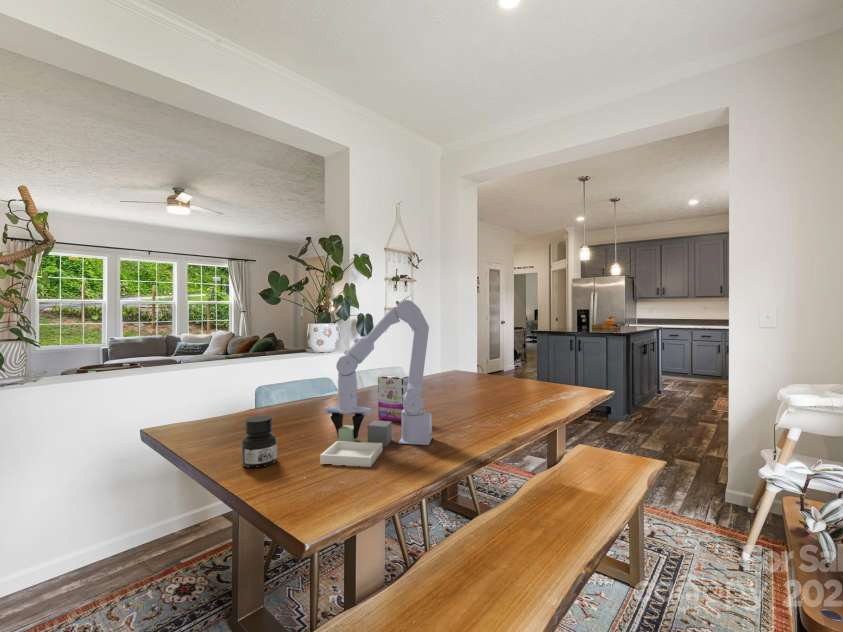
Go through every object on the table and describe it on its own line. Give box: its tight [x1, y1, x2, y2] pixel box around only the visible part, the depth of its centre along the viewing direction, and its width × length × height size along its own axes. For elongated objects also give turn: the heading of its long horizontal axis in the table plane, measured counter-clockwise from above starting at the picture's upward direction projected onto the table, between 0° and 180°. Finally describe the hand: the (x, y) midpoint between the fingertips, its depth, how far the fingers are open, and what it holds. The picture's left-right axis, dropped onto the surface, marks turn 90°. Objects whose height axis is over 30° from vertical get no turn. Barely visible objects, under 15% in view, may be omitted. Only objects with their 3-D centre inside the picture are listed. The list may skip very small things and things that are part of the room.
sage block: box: [338, 424, 358, 442], centre depth 129 cm, size 4×4×4 cm
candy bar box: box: [377, 374, 409, 423], centre depth 155 cm, size 11×5×16 cm, turn 62°
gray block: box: [367, 420, 393, 447], centre depth 129 cm, size 6×6×6 cm
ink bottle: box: [241, 415, 278, 468], centre depth 113 cm, size 10×9×12 cm
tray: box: [319, 440, 384, 468], centre depth 115 cm, size 14×12×2 cm
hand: (348, 437), depth 129 cm, fingers closed on sage block, 4 cm apart
